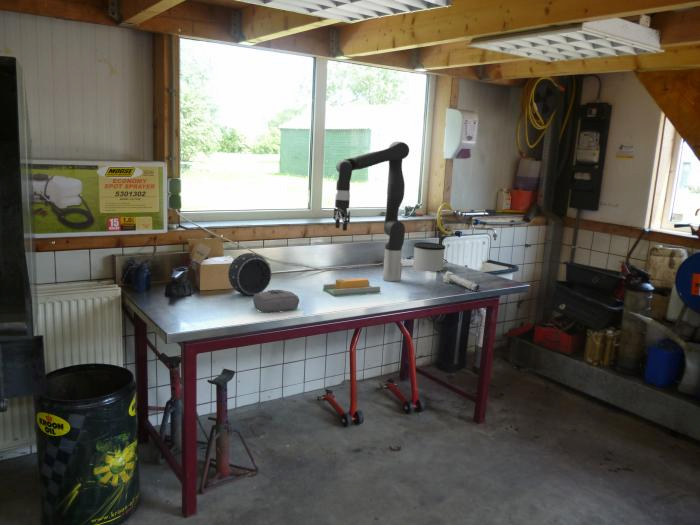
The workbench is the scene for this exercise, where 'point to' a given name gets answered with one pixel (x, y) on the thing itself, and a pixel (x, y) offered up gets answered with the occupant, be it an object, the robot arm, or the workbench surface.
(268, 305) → the soft grey pack
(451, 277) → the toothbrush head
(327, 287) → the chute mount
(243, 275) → the dark patterned drum
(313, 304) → the workbench surface
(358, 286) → the chute
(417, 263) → the container
